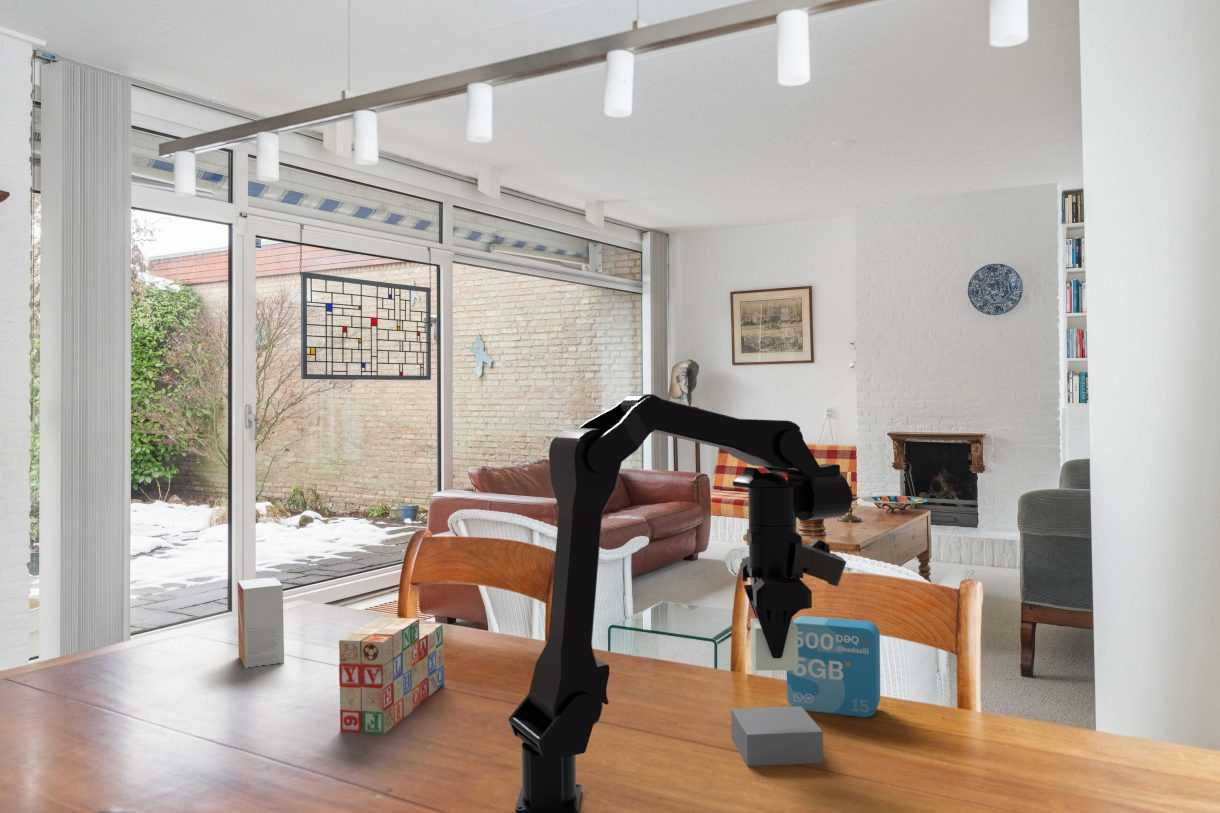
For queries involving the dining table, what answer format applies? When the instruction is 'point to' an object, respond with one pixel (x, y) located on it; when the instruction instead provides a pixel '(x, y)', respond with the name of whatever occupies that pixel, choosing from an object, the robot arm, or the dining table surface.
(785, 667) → the sage cube
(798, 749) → the gray square block
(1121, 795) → the dining table surface
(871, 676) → the data package
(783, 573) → the robot arm
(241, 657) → the small box
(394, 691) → the stack of blocks
